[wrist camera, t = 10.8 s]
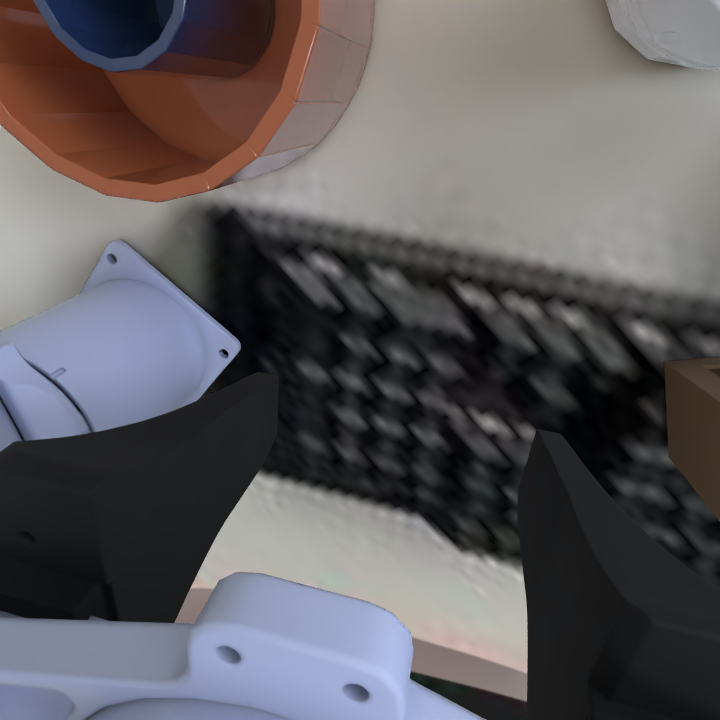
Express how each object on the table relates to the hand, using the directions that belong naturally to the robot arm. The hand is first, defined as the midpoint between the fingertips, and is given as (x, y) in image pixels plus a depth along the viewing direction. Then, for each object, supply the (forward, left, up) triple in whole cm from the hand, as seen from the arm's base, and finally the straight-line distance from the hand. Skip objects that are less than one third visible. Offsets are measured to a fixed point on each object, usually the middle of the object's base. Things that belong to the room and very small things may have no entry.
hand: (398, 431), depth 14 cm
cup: (+3, +14, -10) cm, 17 cm away
